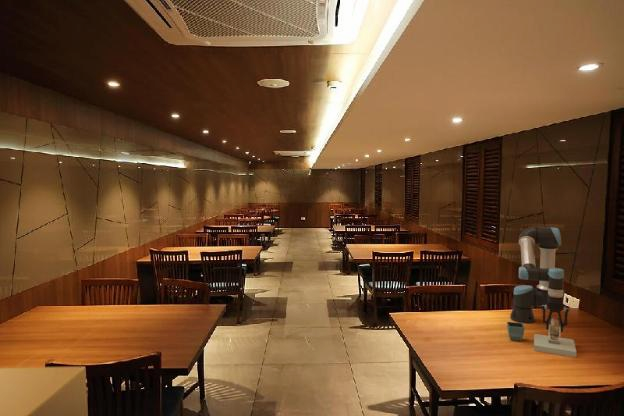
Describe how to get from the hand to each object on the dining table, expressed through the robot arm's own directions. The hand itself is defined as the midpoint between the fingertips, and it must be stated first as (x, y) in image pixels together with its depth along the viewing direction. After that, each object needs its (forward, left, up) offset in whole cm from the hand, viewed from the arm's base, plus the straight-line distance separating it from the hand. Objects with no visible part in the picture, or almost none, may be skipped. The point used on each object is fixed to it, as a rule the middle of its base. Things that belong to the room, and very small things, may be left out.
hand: (554, 336), depth 235 cm
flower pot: (-20, +4, -7) cm, 21 cm away
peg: (0, 0, -2) cm, 2 cm away
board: (0, 0, -7) cm, 7 cm away
